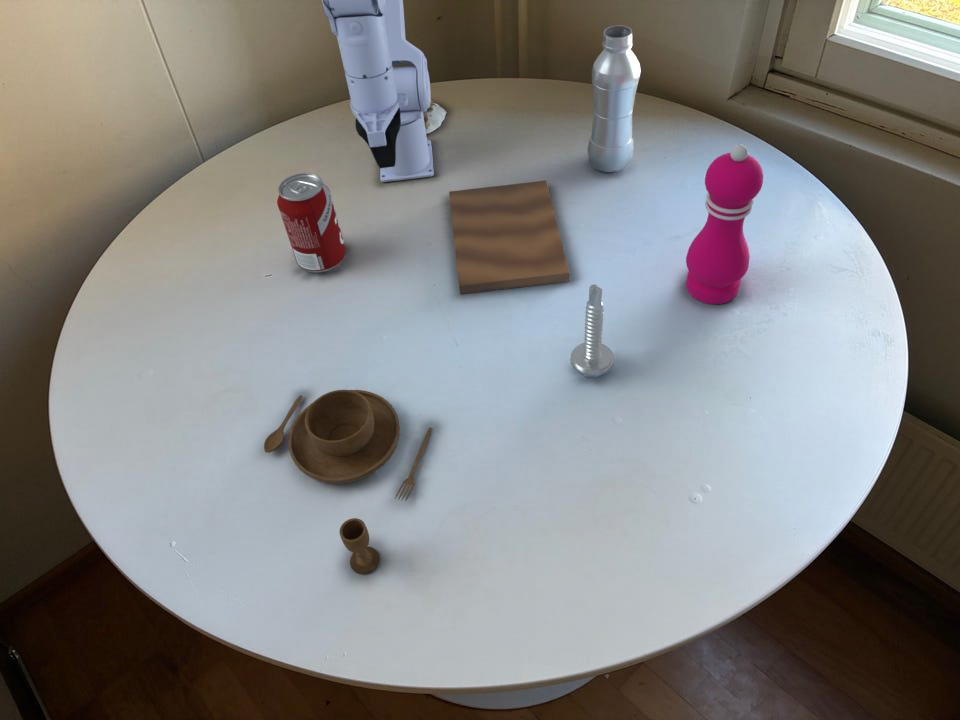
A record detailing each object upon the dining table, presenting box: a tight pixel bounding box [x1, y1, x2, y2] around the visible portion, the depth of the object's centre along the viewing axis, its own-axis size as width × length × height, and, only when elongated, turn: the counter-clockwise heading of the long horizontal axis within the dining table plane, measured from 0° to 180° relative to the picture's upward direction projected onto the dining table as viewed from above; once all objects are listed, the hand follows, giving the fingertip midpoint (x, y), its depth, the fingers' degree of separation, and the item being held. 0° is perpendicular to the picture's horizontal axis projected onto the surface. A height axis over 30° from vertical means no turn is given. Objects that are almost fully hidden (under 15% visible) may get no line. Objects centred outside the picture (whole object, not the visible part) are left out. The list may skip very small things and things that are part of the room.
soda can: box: [276, 172, 347, 273], centre depth 99 cm, size 7×7×12 cm
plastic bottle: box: [587, 25, 642, 173], centre depth 106 cm, size 6×7×20 cm
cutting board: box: [448, 179, 571, 295], centre depth 103 cm, size 20×14×2 cm
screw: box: [569, 284, 615, 379], centre depth 82 cm, size 13×5×5 cm
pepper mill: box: [685, 143, 764, 305], centre depth 87 cm, size 7×7×20 cm
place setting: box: [263, 389, 433, 575], centre depth 78 cm, size 18×20×6 cm
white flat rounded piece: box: [423, 99, 448, 135], centre depth 124 cm, size 12×12×4 cm
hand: (387, 164), depth 101 cm, fingers closed
